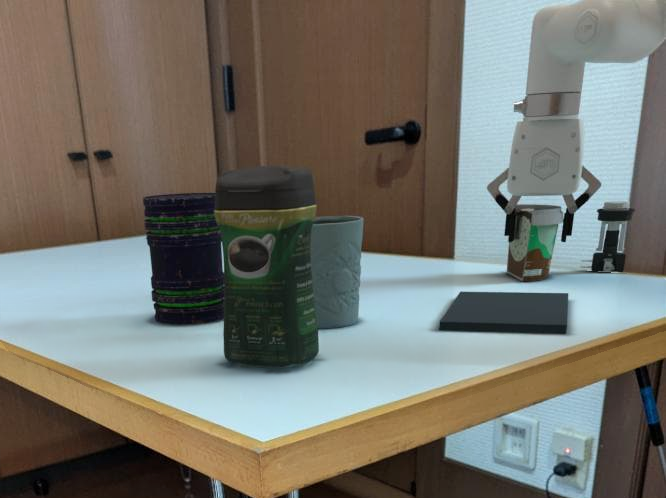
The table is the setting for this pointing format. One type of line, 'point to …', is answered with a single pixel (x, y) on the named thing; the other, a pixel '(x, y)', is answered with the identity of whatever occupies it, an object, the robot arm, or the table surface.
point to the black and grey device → (611, 237)
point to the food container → (533, 241)
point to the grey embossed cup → (336, 269)
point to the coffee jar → (267, 265)
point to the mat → (507, 312)
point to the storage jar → (185, 258)
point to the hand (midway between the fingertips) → (537, 240)
